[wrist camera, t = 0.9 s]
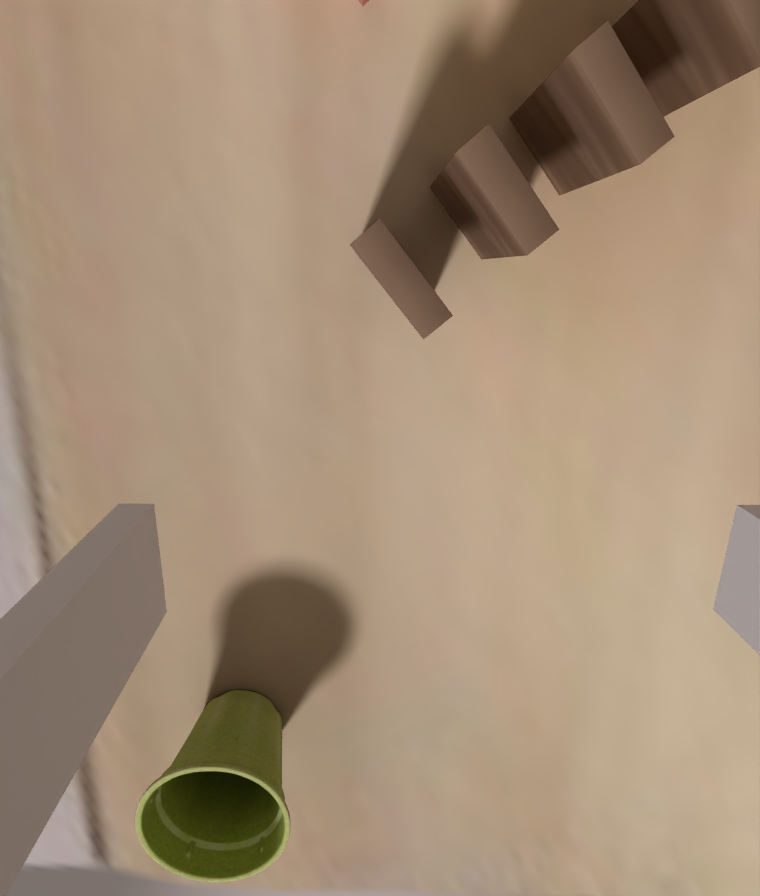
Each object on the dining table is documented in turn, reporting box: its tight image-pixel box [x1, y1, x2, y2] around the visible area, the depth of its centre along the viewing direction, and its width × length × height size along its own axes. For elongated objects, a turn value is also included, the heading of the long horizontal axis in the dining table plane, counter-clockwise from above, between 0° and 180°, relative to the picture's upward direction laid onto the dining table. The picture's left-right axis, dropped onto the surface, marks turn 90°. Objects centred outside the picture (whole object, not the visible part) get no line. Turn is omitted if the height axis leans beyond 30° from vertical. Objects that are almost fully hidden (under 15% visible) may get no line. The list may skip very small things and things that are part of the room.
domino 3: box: [510, 20, 674, 195], centre depth 27 cm, size 2×5×10 cm, turn 39°
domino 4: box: [612, 0, 760, 117], centre depth 26 cm, size 2×5×10 cm, turn 39°
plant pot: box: [135, 690, 290, 882], centre depth 39 cm, size 9×9×9 cm
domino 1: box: [350, 219, 453, 339], centre depth 29 cm, size 2×5×10 cm, turn 39°
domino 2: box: [430, 124, 559, 259], centre depth 28 cm, size 2×5×10 cm, turn 39°
